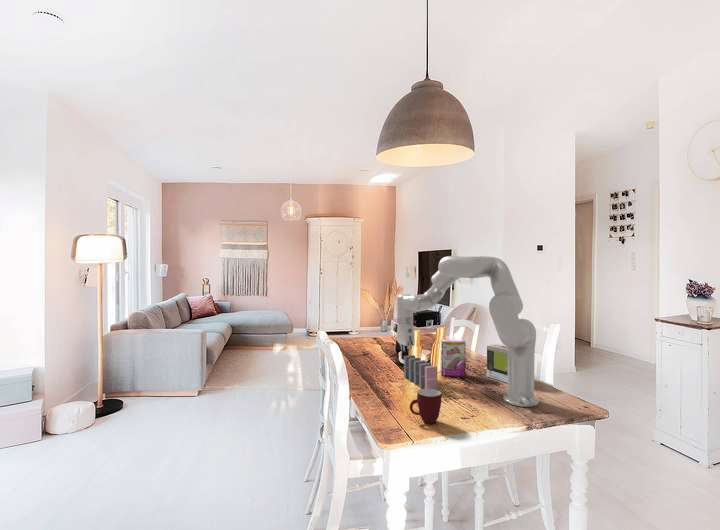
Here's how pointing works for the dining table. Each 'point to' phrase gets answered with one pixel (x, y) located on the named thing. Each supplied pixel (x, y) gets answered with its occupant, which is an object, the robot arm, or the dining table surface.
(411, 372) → the domino
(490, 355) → the grey toy television
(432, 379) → the plum domino
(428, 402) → the mug
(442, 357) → the candy bar box
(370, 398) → the dining table surface
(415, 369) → the domino
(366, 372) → the dining table surface
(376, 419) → the dining table surface
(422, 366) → the domino
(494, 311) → the robot arm
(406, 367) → the domino
